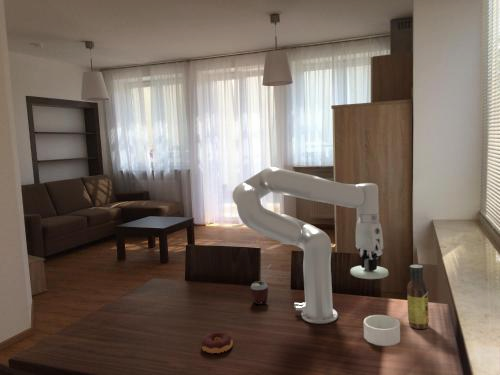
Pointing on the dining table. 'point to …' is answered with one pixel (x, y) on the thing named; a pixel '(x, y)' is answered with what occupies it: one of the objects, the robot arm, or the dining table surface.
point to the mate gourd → (260, 290)
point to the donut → (217, 342)
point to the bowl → (382, 330)
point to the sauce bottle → (417, 299)
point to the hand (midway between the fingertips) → (369, 268)
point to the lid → (368, 274)
